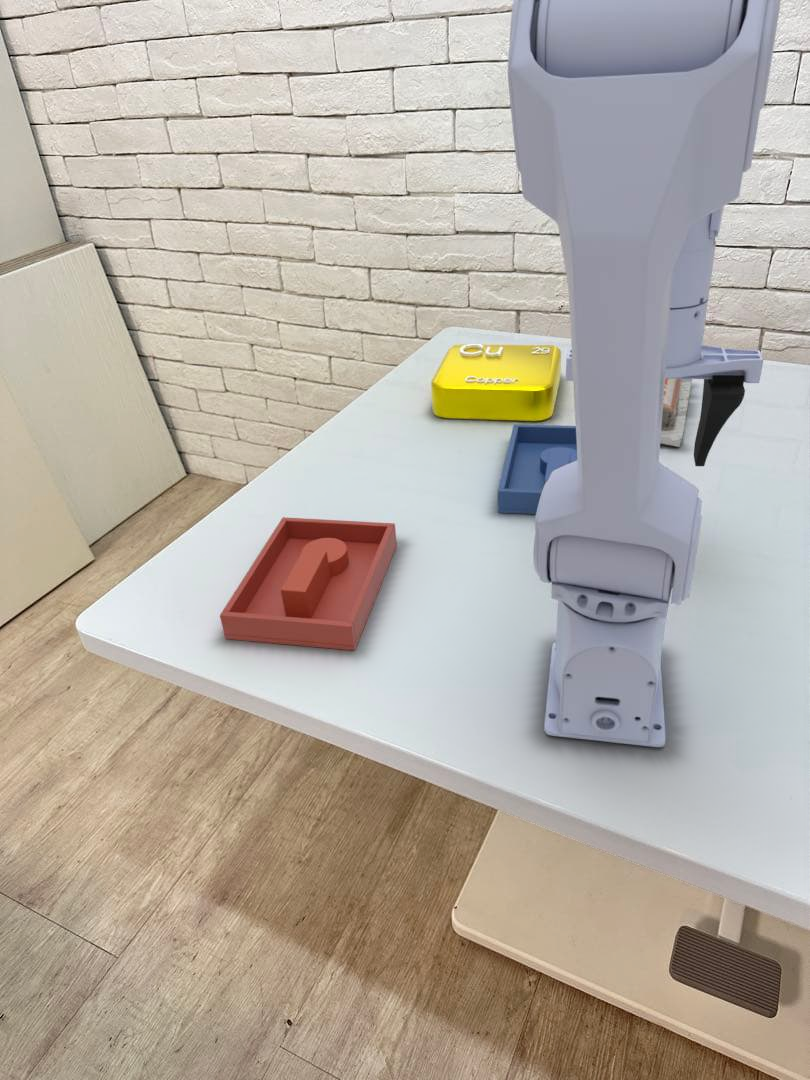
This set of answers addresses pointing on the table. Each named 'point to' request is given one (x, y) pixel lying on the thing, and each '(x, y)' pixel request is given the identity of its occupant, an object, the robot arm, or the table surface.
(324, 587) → the red spoon
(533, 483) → the blue tray
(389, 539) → the red tray
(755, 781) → the table surface
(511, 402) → the element tile
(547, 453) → the blue spoon
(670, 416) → the packaged product
